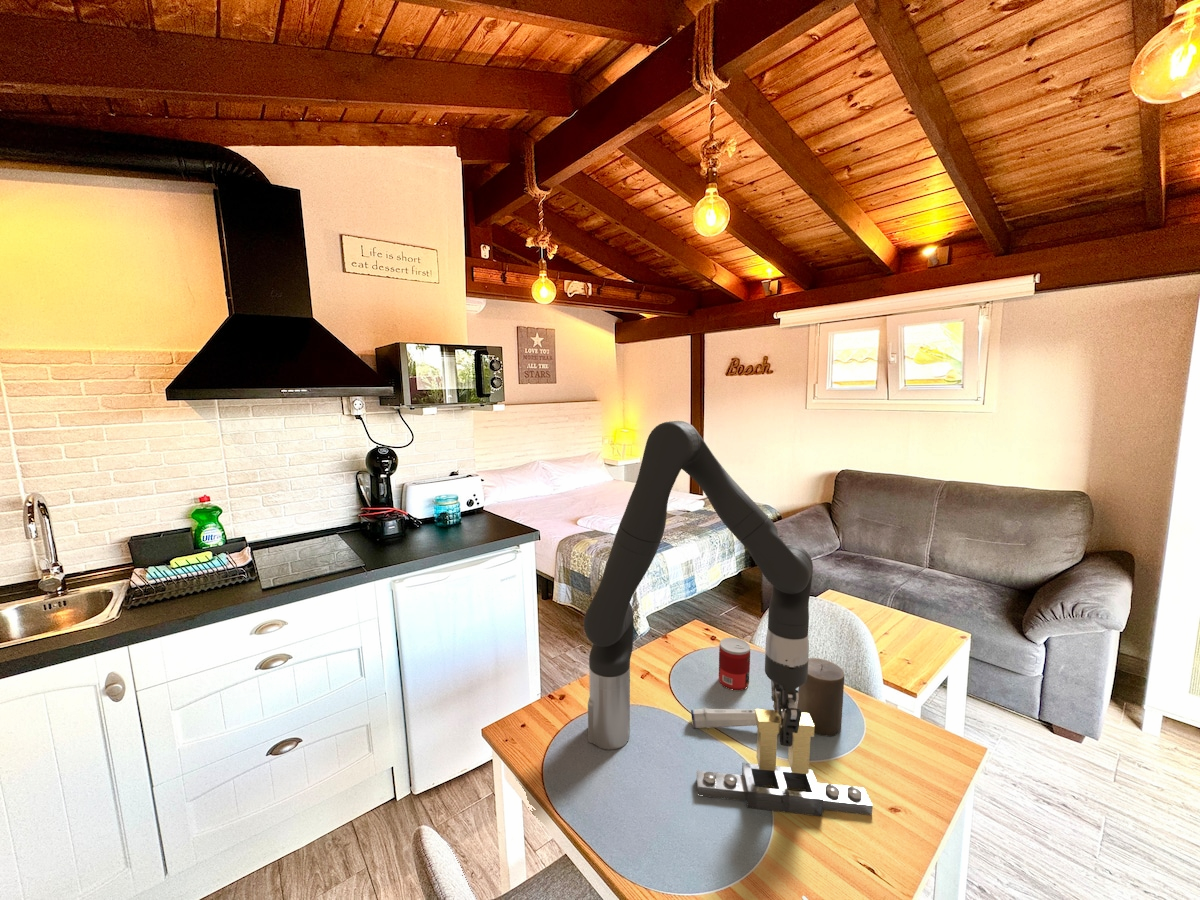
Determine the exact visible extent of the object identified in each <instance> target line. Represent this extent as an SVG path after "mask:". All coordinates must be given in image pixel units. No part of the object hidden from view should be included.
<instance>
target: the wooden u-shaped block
mask: <svg viewBox="0 0 1200 900" xmlns="http://www.w3.org/2000/svg"><path fill="white" fill-rule="evenodd" d="M754 710H755V721H756V725H755V726H756V728H757V733H756V734H757V736H756V757H755V758H756V761H757V764H758V766H759V769H761V770H771V771H776V766H777V765H776V764H777V745H778V735H779V733H780V725H779V723H780V715H779V714H778V712H777V710H774V709H766V708H763V709H761V708H755V709H754ZM814 727H815V726H814V724H813V721H812V719H811V717H810V715H809V713H802V715H801V719H800V724H799V728H798V732H797V733H793V739H792V746H788V755H787V761H788V764H789V767H790V768H791V771H792V773H801V774H809V769H810V757H811V756H810V755H811V753H810V751H811V738H814V737H815V733H814Z"/></svg>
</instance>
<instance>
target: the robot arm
mask: <svg viewBox="0 0 1200 900" xmlns="http://www.w3.org/2000/svg"><path fill="white" fill-rule="evenodd" d="M681 471H684V472H685V473H686V474H687V475H688V476H690V478H691V479H693V480H694V481H695V483H696V484H697V485H698V487H699V488H700V489H701V490H702V492H703V493H704V494H705V496H706V498H707V499H708V501H709V503H710V505H711V506H712V508H713V510H714V511H715V512H716V514H717V516H718V518H720V521H722V523H723V524H724V525H725V527H726V528H728V530H729V531H730V532H731V533H732V535H733V536H734V537H735V538H736V539H737V540H738V541H739V542H740V543H741V544H742V545H743V546H744V547H745V549H747V551H748V554H749V555H750V556H751V558H752V560H753V561H754V563H755V565H756V566H757V568H758V569H759V570H760V572H761V573H762V575H763V576H764V578H765V579H766V580H767V581H768V582H769V583H770V584H771V585H772V595H771V598H770V601H769V605H768V615H767V630H766V631H767V632H766V634H765V635H766V637H765V655H764V657H765V658H764V673H765V675H766V677H768V679H769V680H770V684H771V685H770V686H771V697H770V698H771V700H772V702H773V705H772V707H773V710H777V712H778V714H779V715H780V723H779V725H780V733H779V734H778V735H779V737H778V738H779V739H778V742H779V745H780V746H782V747H789V746H792V739H793V733H797V732H798V728H799V724H800V719H801V715H802V712H801V710H800V709H797V703H798V700H799V694H798V689H799V686H802V685H804V684H805V683H806V681H807V677H808V658H810V657H809V653H810V642H809V641H810V640H809V628H810V627H809V626H810V625H809V623H810V622H809V620H810V611H809V605H810V602H809V601H810V596H811V591H812V582H813V573H814V572H813V571H814V570H813V569H814V564H813V559H812V557H811V556H810V554H809V553H808V551H807V550H806V549H804V548H803V547H801V546H799V545H796V544H786V543H785V542H784V541H783V539H782V538H781V537H780V536H779V533H778V527H777V526H776V525H775V523H774V521H773V520H772V519H771V518H770V517H769V516H768V515H767V514H766V513H765V512H764V511H763V510H762V509H761V507H759V505H758V504H756V502H755V501H754V500H753V499H752V498H751V497H750V496H749V495H748V494H747V493H746V492H745V491H744V490H743V489H742V487H740V485H739V484H738V483H737V482H736V481H735V480H734V479H733V478H732V476H730V474H729V473H728V472H727V470H726V469H725V468H724V467H723V466H722V464H721V463H720V461H718V459H717V458H716V456H715V455H714V454H713V452H712V451H711V450H710V448H709V446H708V445H707V444H706V441H705V440H704V439H703V437H702V436H701V435H700V433H699V431H697V429H696V428H695V427H694V425H692V424H691V423H689V422H686V421H682V420H674V421H673V420H672V421H671V420H670V421H664V422H662V423H659V424H658V425H656V426H655V427H654V428H653V429H652V430H651V431H650V433H649V435H648V437H647V439H646V443H645V447H644V451H643V455H642V459H641V464H640V467H639V471H638V476H637V479H636V480H635V481H636V482H635V484H634V486H633V489H632V492H631V495H630V497H629V499H628V502H627V504H626V508H625V510H624V513H623V516H622V518H621V520H620V522H619V525H618V528H617V531H616V534H615V536H614V540H613V543H612V546H611V548H610V552H609V555H608V557H607V560H606V564H605V568H604V571H603V576H602V578H601V579H600V580H601V581H600V582H599V585H598V588H597V590H596V592H595V594H594V596H593V598H592V601H591V602H590V604H589V606H588V607H587V610H586V611H585V614H584V617H583V629H584V633H585V636H586V638H587V639H588V640H589V642H590V643H591V644H592V647H591V650H590V652H589V656H588V665H589V666H588V669H589V671H588V672H589V673H588V674H589V675H588V676H589V677H588V678H589V697H588V702H587V742H588V743H591V744H594V745H595V746H596V747H598V748H600V749H603V750H616V749H620V748H623V747H624V746H625V745H626V744H627V743H628V742H629V740H630V735H631V725H630V724H631V657H632V653H633V648H634V646H633V645H634V628H635V627H634V626H635V625H634V622H635V621H634V611H633V607H632V604H631V600H632V598H633V596H634V594H635V592H636V590H637V589H638V587H639V585H640V584H641V582H642V580H643V579H644V577H645V575H646V574H647V572H648V570H649V568H650V567H651V564H652V562H653V560H654V559H655V557H656V554H657V552H658V549H659V547H660V544H661V541H662V539H663V537H664V533H665V530H666V526H667V525H666V523H667V513H668V504H669V499H670V494H671V492H672V490H673V487H674V485H675V483H676V480H677V478H678V477H679V474H680V472H681ZM627 741H628V742H627Z"/></svg>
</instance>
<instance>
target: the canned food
mask: <svg viewBox="0 0 1200 900" xmlns="http://www.w3.org/2000/svg"><path fill="white" fill-rule="evenodd" d="M718 648H719V650H718V651H719V652H718V653H719V654H718V680H719V683H720V685H721V684H722V685H723V687H724V686H725V687H727V688H729V689H728V690H730V689H733V690H732V691H734V690H741V691H743V690H742V689H744V690H746V689H747V688H748V687H749V684H750V672H751V671H750V670H751V646H750V644H749V643H748V642H747V641H746V640H744V639H741V638H737V637H736V638H735V637H725V638H722V639H721V640H720V641H719V647H718ZM722 685H721V686H722ZM725 687H724V688H725ZM746 687H747V688H746ZM727 688H726V689H727ZM745 688H746V689H745Z"/></svg>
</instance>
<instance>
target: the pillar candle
mask: <svg viewBox="0 0 1200 900" xmlns="http://www.w3.org/2000/svg"><path fill="white" fill-rule="evenodd" d="M844 685H845V672H844V670H843V668H842V667H841V666H839V665H838V664H836V663H835V662H833V661H830V660H827V659H824V658H817V657H808V677H807V681H806V683H805V684H804V685H802V686H799V687H798V688H797V690H798V694H799V700H798V701H797V709H800V710H801V712H802V713H809V715H810V717H811V719H812V721H813V724H814V726H815V727H814V735H818V736H822V737H825V736H826V737H834V736H835V737H836V736H837V735H838V734H840V732H841V730H842V721H843V706H844V705H843V704H844V689H845V686H844Z"/></svg>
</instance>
